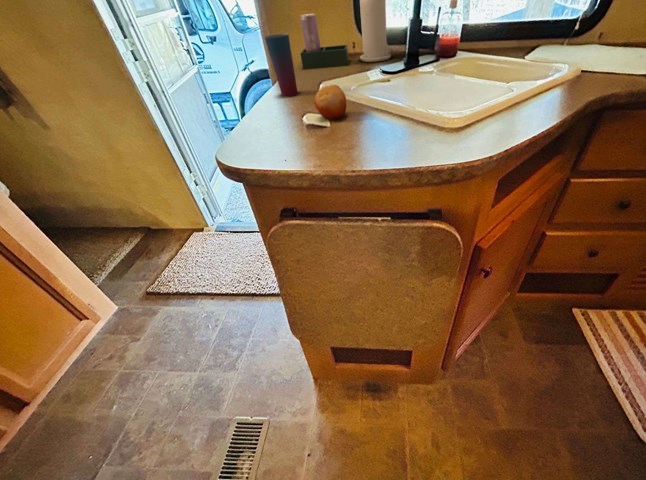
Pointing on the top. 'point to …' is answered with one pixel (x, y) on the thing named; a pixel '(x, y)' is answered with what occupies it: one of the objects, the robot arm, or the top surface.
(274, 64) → the cup
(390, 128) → the top surface
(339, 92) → the fruit
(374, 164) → the top surface
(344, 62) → the rack
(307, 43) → the beverage can
